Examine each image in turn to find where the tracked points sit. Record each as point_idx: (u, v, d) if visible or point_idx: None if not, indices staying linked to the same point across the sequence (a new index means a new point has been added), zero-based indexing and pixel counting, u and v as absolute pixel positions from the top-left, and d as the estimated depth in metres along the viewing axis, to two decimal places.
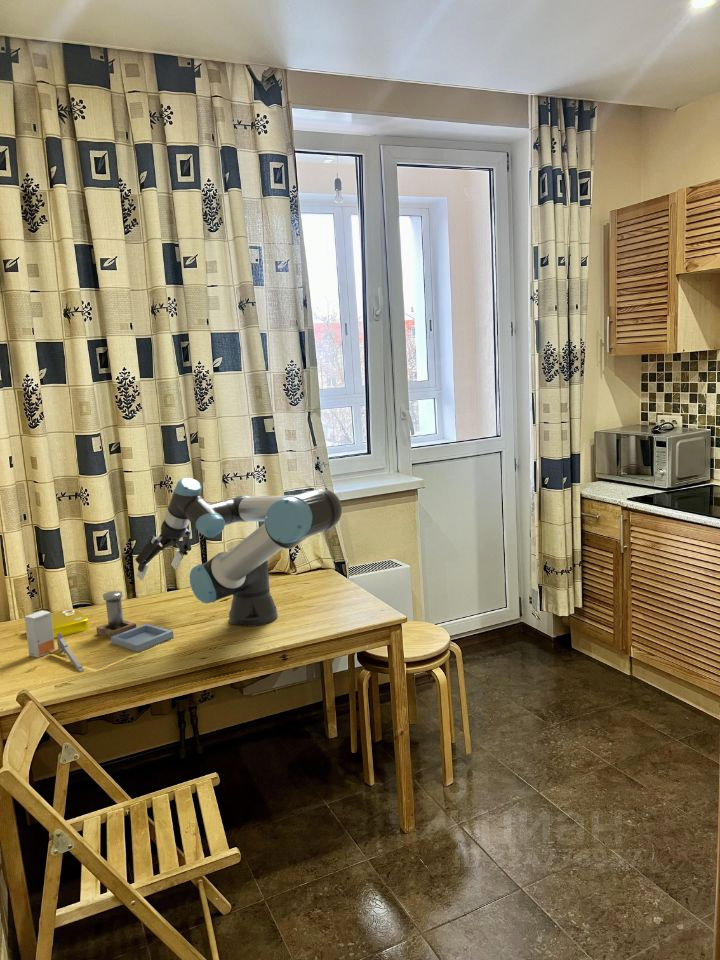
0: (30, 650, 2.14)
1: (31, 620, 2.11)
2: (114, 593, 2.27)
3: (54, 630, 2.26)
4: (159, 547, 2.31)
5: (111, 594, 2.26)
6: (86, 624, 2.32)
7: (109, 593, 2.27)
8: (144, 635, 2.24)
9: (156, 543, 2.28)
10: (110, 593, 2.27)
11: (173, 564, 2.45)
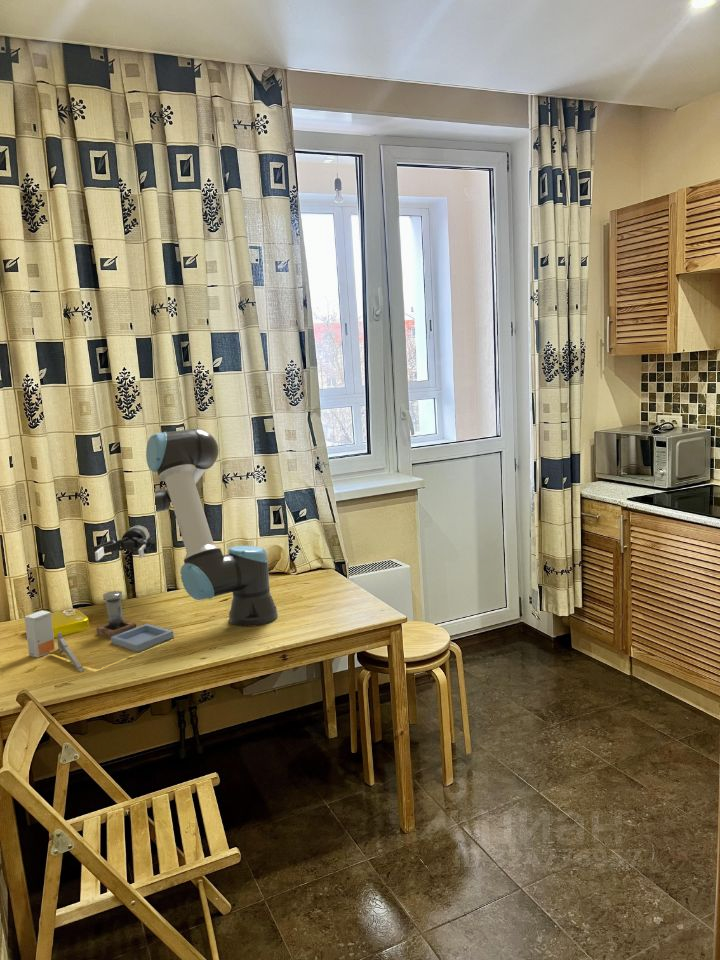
0: (30, 650, 2.14)
1: (31, 620, 2.11)
2: (114, 593, 2.27)
3: (54, 630, 2.26)
4: None
5: (111, 594, 2.26)
6: (86, 624, 2.32)
7: (109, 593, 2.27)
8: (144, 635, 2.24)
9: (111, 540, 2.49)
10: (110, 593, 2.27)
11: None
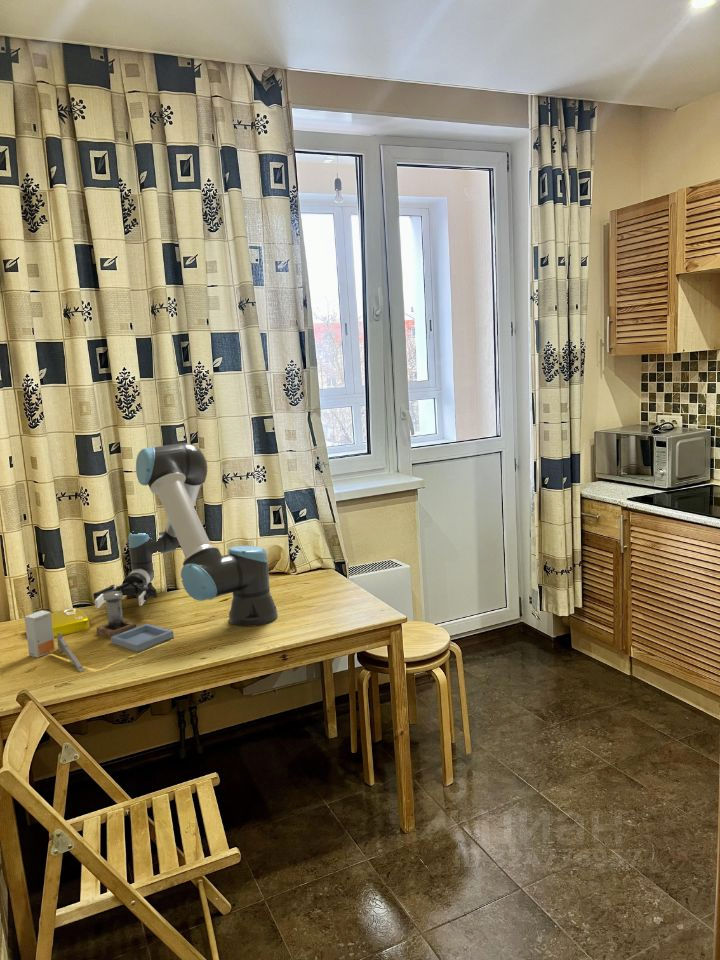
0: (30, 650, 2.14)
1: (31, 620, 2.11)
2: (114, 593, 2.27)
3: (54, 629, 2.27)
4: None
5: (111, 594, 2.26)
6: (86, 623, 2.33)
7: (109, 593, 2.27)
8: (144, 635, 2.24)
9: (112, 585, 2.48)
10: (110, 593, 2.27)
11: None
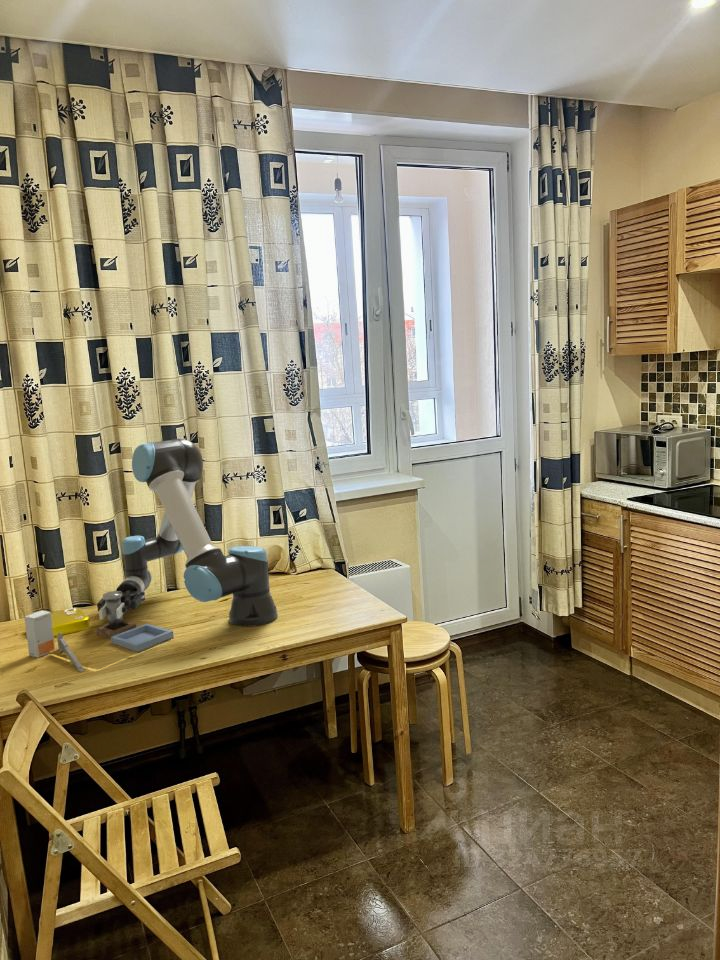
0: (30, 650, 2.14)
1: (31, 620, 2.11)
2: (114, 593, 2.27)
3: (54, 629, 2.27)
4: None
5: (111, 594, 2.26)
6: (87, 623, 2.33)
7: (109, 593, 2.27)
8: (144, 635, 2.24)
9: None
10: (110, 593, 2.27)
11: None
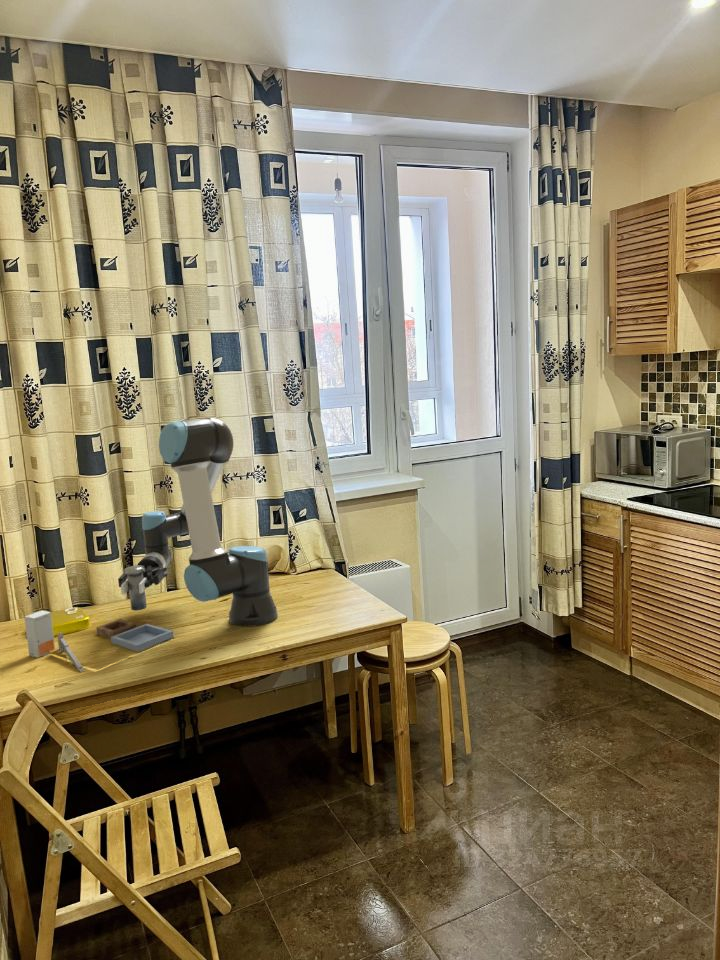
0: (30, 650, 2.14)
1: (30, 620, 2.11)
2: (136, 567, 2.17)
3: (55, 628, 2.28)
4: None
5: (133, 569, 2.16)
6: (87, 623, 2.33)
7: (131, 567, 2.18)
8: (144, 635, 2.24)
9: None
10: (132, 567, 2.18)
11: None
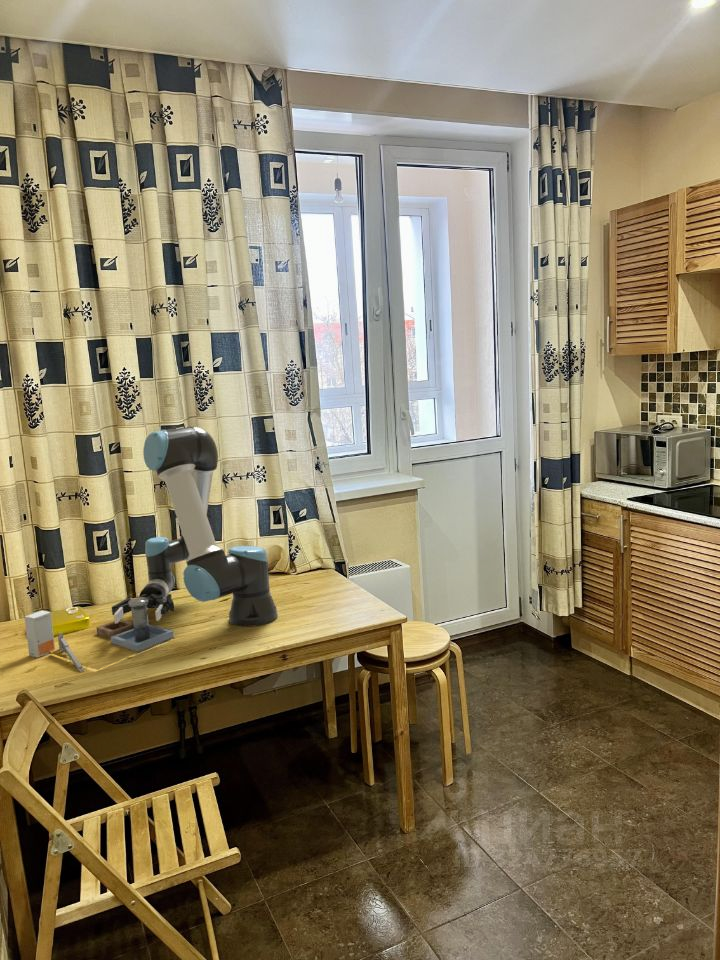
0: (30, 650, 2.14)
1: (31, 620, 2.11)
2: (140, 600, 2.19)
3: (55, 628, 2.28)
4: None
5: (137, 601, 2.18)
6: (87, 622, 2.34)
7: (135, 600, 2.19)
8: None
9: (128, 597, 2.30)
10: (136, 600, 2.19)
11: None
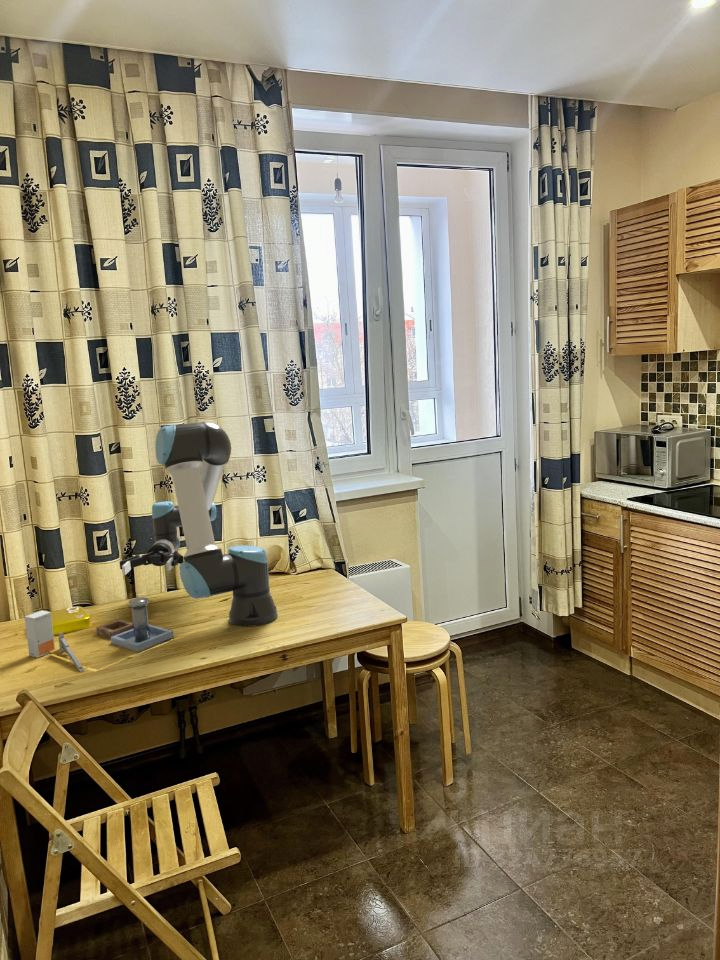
0: (30, 650, 2.14)
1: (31, 620, 2.11)
2: (140, 600, 2.19)
3: (55, 627, 2.28)
4: None
5: (137, 601, 2.18)
6: (87, 622, 2.34)
7: (135, 600, 2.19)
8: None
9: (137, 555, 2.44)
10: (136, 600, 2.19)
11: None
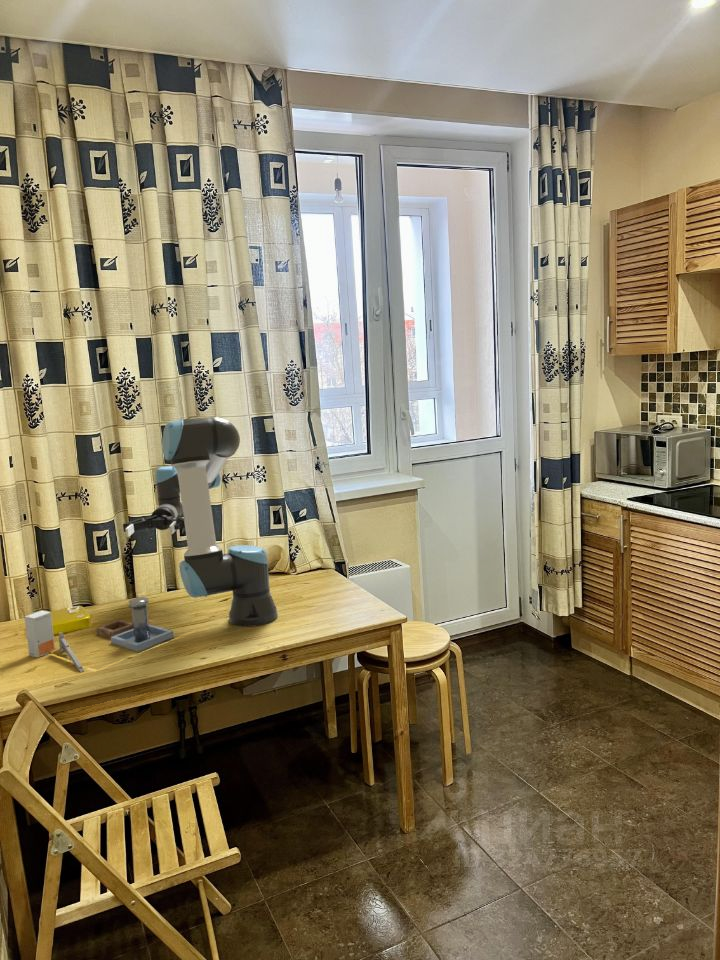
0: (30, 650, 2.14)
1: (31, 620, 2.11)
2: (140, 600, 2.19)
3: (55, 627, 2.29)
4: None
5: (137, 601, 2.18)
6: (87, 622, 2.34)
7: (135, 600, 2.19)
8: None
9: (140, 518, 2.46)
10: (136, 600, 2.19)
11: None
